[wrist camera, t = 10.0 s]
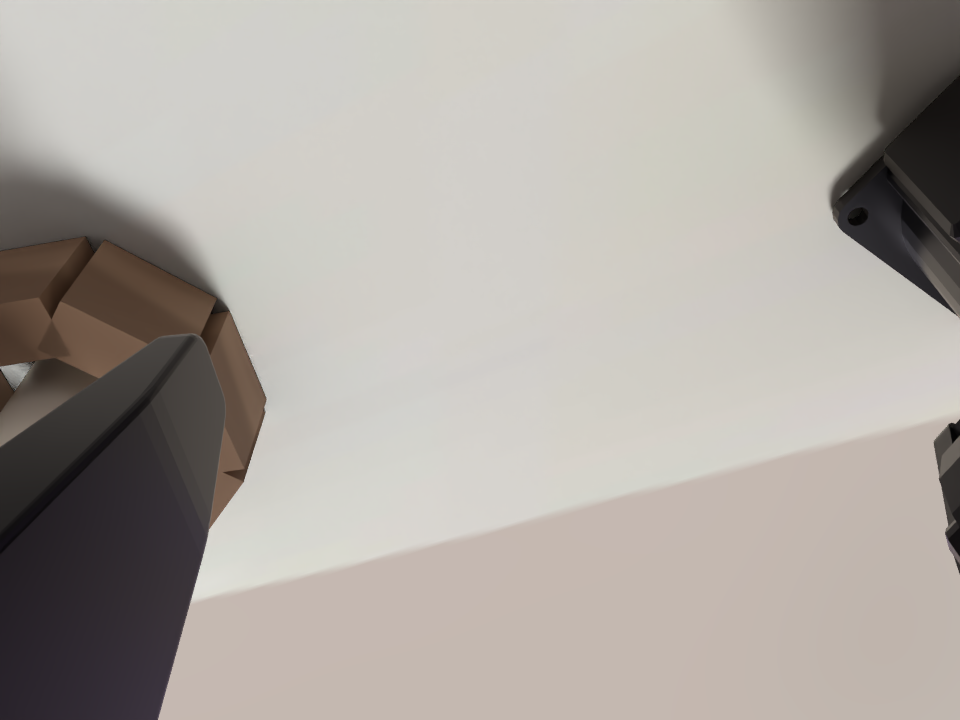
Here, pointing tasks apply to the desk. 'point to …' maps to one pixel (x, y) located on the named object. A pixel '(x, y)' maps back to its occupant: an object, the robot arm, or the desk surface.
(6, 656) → the robot arm
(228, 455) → the brown segmented ring
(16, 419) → the cream tapered cylinder
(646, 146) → the desk surface
